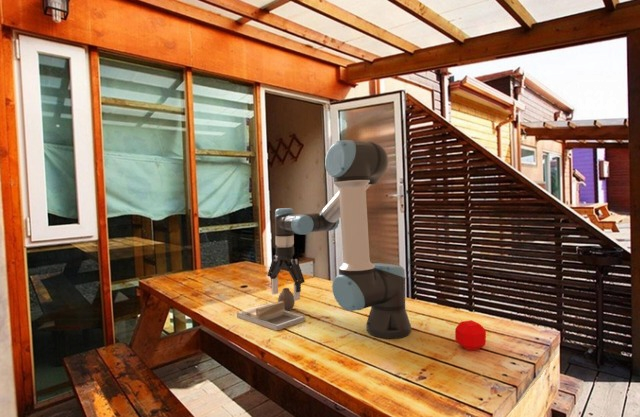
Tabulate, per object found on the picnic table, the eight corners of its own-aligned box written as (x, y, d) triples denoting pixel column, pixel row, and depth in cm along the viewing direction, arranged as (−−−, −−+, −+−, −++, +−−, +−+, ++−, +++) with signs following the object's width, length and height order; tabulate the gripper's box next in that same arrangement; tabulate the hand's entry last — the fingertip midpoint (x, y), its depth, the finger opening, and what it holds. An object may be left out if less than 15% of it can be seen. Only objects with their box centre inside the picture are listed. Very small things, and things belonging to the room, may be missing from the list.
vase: (292, 312, 159) (291, 291, 159) (276, 311, 161) (275, 290, 160) (296, 307, 166) (296, 286, 166) (281, 306, 167) (280, 286, 167)
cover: (284, 311, 155) (284, 301, 155) (259, 319, 146) (258, 309, 146) (266, 306, 163) (266, 297, 163) (241, 313, 154) (241, 303, 154)
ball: (490, 350, 117) (490, 325, 117) (467, 354, 115) (467, 328, 115) (473, 341, 125) (472, 317, 125) (451, 344, 123) (451, 320, 123)
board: (304, 320, 149) (304, 315, 148) (276, 330, 138) (276, 325, 138) (264, 308, 165) (264, 304, 165) (236, 316, 155) (236, 312, 155)
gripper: (312, 247, 156) (313, 300, 157) (272, 242, 173) (273, 289, 175) (299, 250, 151) (299, 304, 152) (258, 244, 168) (259, 293, 169)
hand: (285, 296), depth 163 cm, fingers open, 13 cm apart
